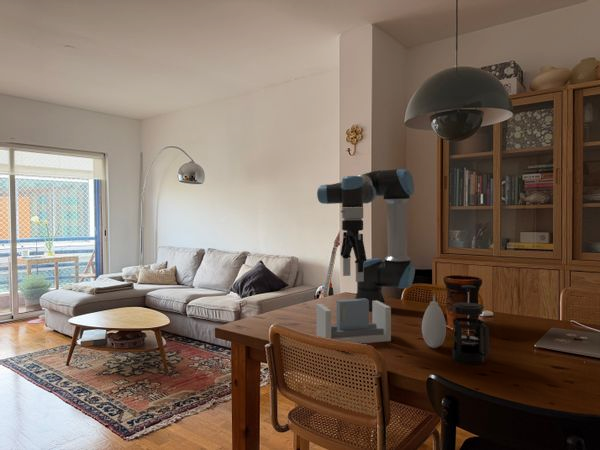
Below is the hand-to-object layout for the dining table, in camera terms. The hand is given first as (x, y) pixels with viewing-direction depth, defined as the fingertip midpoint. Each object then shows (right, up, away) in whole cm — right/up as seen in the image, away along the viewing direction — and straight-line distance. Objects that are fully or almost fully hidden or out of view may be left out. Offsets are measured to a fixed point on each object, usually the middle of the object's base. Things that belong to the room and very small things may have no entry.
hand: (352, 278), depth 155 cm
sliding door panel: (0, -20, 0) cm, 20 cm away
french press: (+33, -23, -23) cm, 46 cm away
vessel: (+45, -21, +15) cm, 52 cm away
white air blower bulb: (+26, -22, -10) cm, 36 cm away
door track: (0, -22, +1) cm, 22 cm away
